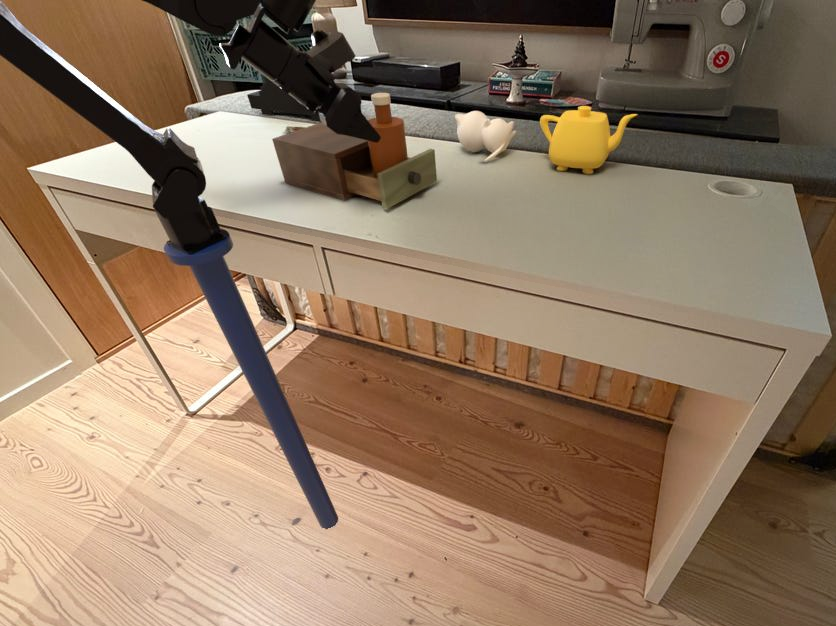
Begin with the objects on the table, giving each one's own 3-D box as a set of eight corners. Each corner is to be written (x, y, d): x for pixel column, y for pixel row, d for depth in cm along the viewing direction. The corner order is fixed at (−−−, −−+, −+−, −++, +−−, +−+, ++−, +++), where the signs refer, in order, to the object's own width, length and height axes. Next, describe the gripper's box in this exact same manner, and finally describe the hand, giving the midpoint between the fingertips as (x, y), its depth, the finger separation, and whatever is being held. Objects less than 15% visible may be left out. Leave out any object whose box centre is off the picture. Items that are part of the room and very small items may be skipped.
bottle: (394, 191, 80) (382, 101, 71) (367, 183, 83) (352, 96, 73) (417, 179, 84) (408, 93, 75) (391, 172, 87) (379, 88, 77)
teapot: (629, 161, 94) (640, 103, 87) (623, 181, 86) (635, 119, 79) (543, 152, 99) (547, 96, 91) (530, 170, 91) (534, 111, 84)
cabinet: (396, 175, 90) (390, 131, 85) (344, 200, 82) (334, 154, 76) (338, 160, 97) (329, 119, 91) (285, 182, 88) (271, 138, 83)
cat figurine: (513, 105, 91) (460, 97, 95) (494, 149, 89) (440, 139, 93) (520, 138, 100) (470, 129, 103) (502, 178, 98) (452, 168, 101)
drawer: (443, 182, 85) (440, 150, 81) (393, 210, 76) (388, 176, 72) (373, 165, 92) (367, 135, 88) (320, 189, 83) (312, 157, 80)
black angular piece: (280, 102, 133) (269, 62, 126) (364, 112, 124) (357, 69, 118) (249, 113, 125) (236, 71, 118) (337, 124, 116) (327, 79, 109)
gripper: (330, 15, 57) (420, 101, 69) (294, 4, 69) (375, 78, 81) (285, 95, 60) (379, 165, 71) (258, 71, 72) (342, 134, 83)
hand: (369, 132), depth 77 cm, fingers open, 9 cm apart
